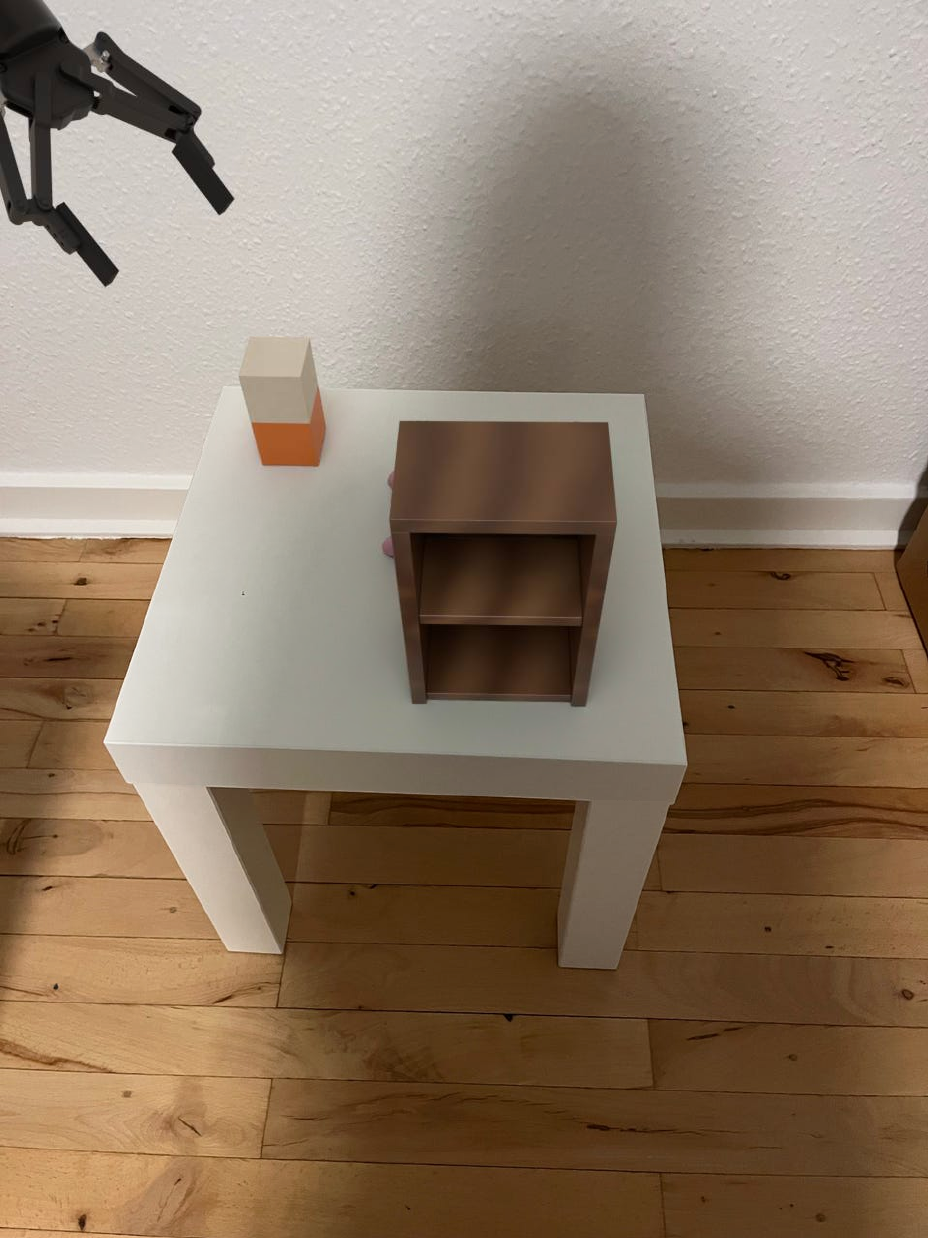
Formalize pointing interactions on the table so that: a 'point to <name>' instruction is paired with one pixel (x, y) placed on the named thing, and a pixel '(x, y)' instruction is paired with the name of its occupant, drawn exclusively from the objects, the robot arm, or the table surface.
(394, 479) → the shelf
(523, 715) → the table surface
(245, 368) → the cream and orange block
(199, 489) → the table surface
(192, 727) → the table surface
